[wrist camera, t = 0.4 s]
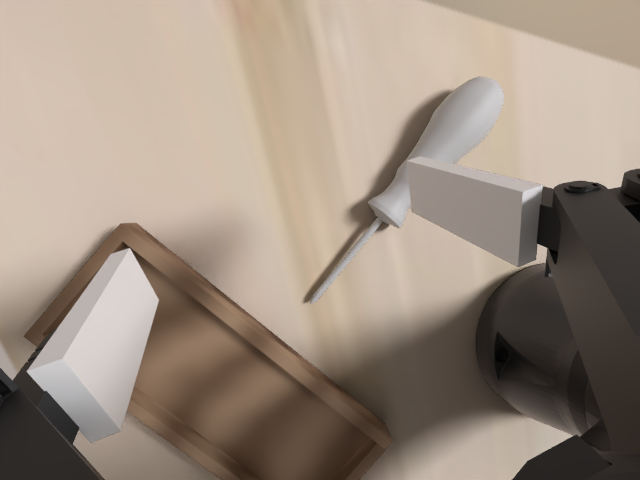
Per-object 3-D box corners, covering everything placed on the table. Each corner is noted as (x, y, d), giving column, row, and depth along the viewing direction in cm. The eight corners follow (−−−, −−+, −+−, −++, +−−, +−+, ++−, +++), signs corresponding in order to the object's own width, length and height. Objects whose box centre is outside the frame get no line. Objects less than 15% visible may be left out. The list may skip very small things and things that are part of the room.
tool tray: (384, 423, 31) (392, 441, 29) (304, 514, 31) (305, 540, 29) (136, 222, 28) (120, 223, 25) (47, 325, 28) (23, 336, 25)
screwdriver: (295, 284, 31) (285, 289, 27) (462, 81, 30) (478, 53, 25) (332, 316, 31) (327, 326, 27) (505, 110, 29) (528, 87, 25)
